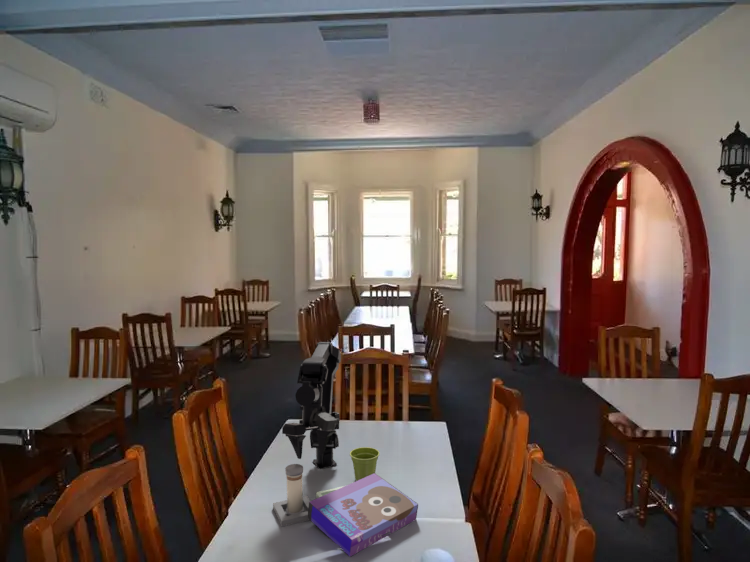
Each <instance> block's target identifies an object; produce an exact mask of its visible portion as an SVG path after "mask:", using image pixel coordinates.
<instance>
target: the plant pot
mask: <svg viewBox="0 0 750 562" xmlns="http://www.w3.org/2000/svg"><path fill="white" fill-rule="evenodd" d="M349 456H350V457H351V462H352V464H353V473H354V479H355V482H356V481H358V480H360V479H362V478H365V477H367V476H369V475H371V474H374V473H376V469H377V463H378V462H377V461H378V459H379V456H380V451H379V450H378V449H376V448H375V447H374V448H373V447H367V446H362V447H357V448H354V449H352V450H351V451H350V452H349Z"/></svg>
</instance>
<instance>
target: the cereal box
mask: <svg viewBox="0 0 750 562" xmlns="http://www.w3.org/2000/svg"><path fill="white" fill-rule="evenodd" d="M343 486H344V487H343ZM343 486H341V487H342V488H340V489H337V490H335V491H333V492H331V493H328V494H326V495H324V496H322V497H319V498H317V497H316V498H315V499H313V500H310V502H309V507H308V518H309V519H310V520H309V521H311V522H312V523H313V524H314V525H315V526H317V528H319V530H321V531H322V532H323V533H324V534H325V535H326V536H327V537H328V538H329V539H330V540H331V541H332V542H334V544H336V545H337V546H339V548H340V549H341V550H342V551H343V552H345V554H347V555H348V556H349V557H352V556H354V555H356V554H357V553H359V552H361V551H363V550H365V549H367V548H369V547H370V546H372V545H373V544H376V543H377V542H378V541H380V540H383V539H384V538H386V537H388V536H389V533H390V534H394V533H395V532H396V531H398V530H400V529H401V528H403V527H405V526H407V525H409V524H410V523H412V522H414V521H416V520H417V517H418V509H419V503H417V502H416V501H414V499H412V498H410V497H409V496H408V495H406V494H405V493H404V492H402V491H401V490H400V489H398V488H397V487H396V486H394V485H393V484H391V483H390V482H388V481H387V480H385V479H384V478H383V477H382V476H380V475H379V474H378V473H376V472H375V473H374V474H371V475H369V476H367V477H365V478H362V479H360V480H358V481H356V480H355V481H353V482H351V483H349V484H346V485H343ZM387 533H388V534H387Z"/></svg>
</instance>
